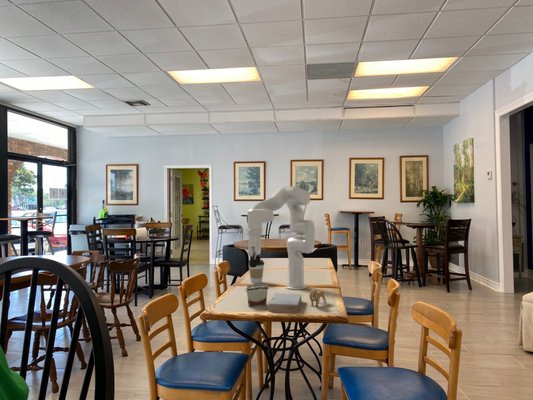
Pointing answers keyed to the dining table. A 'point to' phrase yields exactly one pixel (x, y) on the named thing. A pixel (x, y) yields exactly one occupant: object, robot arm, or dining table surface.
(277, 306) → the pedestal
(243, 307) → the dining table surface
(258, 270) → the coffee cup
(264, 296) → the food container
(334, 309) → the dining table surface
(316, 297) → the lion figurine
